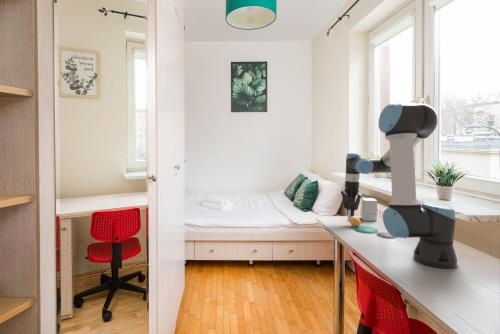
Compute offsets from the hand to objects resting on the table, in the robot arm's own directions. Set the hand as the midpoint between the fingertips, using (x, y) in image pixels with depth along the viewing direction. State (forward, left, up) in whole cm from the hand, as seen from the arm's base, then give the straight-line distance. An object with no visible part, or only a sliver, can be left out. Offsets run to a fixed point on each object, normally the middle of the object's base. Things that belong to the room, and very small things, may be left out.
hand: (350, 221), depth 168 cm
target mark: (-10, 0, -2) cm, 10 cm away
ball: (-3, 0, 0) cm, 3 cm away
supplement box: (0, -20, -3) cm, 20 cm away
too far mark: (-22, 0, -2) cm, 22 cm away
